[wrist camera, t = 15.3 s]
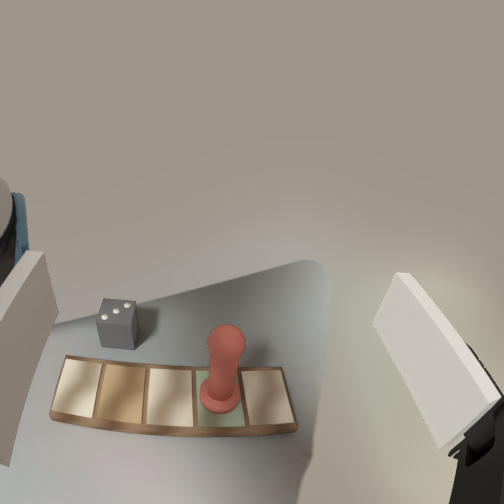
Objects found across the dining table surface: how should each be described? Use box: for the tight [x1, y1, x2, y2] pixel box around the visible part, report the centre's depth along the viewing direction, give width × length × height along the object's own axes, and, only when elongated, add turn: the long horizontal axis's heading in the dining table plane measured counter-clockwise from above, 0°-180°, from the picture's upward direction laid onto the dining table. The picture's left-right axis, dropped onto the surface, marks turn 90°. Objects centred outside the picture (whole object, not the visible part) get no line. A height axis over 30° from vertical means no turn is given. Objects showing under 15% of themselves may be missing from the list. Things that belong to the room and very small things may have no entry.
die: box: [96, 299, 138, 350], centre depth 41 cm, size 5×5×5 cm
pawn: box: [200, 324, 246, 414], centre depth 32 cm, size 5×5×12 cm
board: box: [49, 355, 297, 437], centre depth 34 cm, size 30×10×1 cm, turn 98°
